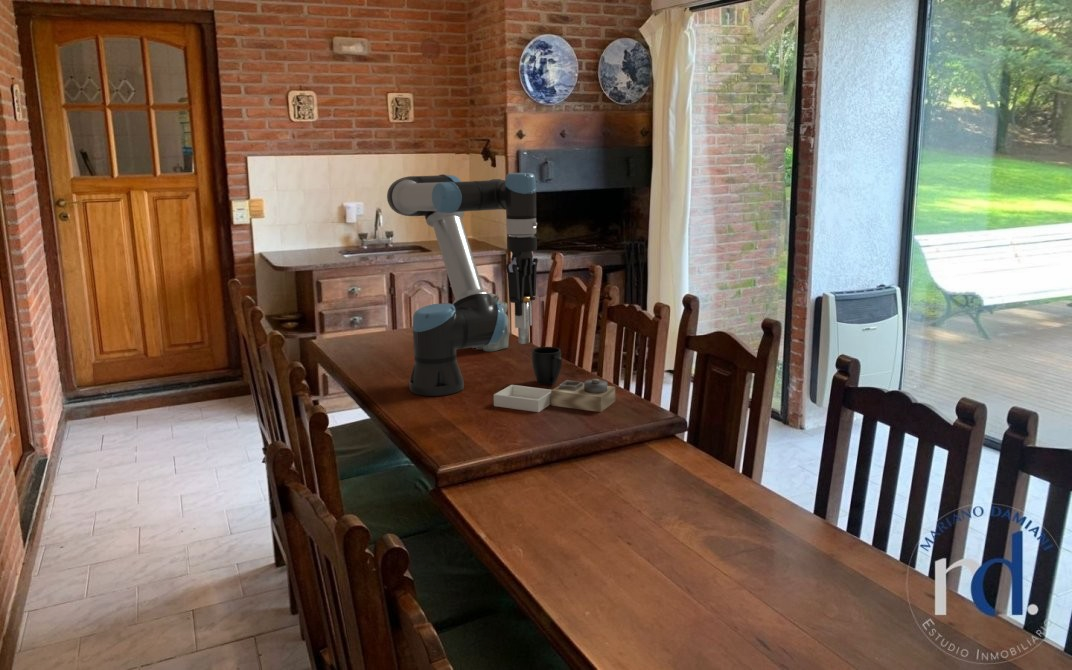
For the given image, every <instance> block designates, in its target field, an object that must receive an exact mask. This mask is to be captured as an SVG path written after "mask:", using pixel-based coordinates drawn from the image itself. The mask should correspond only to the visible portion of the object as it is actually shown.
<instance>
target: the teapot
mask: <svg viewBox="0 0 1072 670" xmlns="http://www.w3.org/2000/svg"><path fill="white" fill-rule="evenodd" d="M489 294H490V295H491V298H492V301H493V303H494V302H497V303H499V304H501V306H502V307H503V309H504V312H505V318H506V326H505V331H504V334H503V337H502V338H501V340H500V341H499V342H497V343H493V344H489V345H487V346H484V345H483V346H477V347H471V348H472V349H473V348H476V349H475V350H482V349H483V350H482V351H483V352H496V351H499V350H505V349H507V348H509V339H510V338H509V337H510V331H509V327H510V319H509V316H508V315H507V311H508V308H509V306H508V303H507V302H505V301H500V296H499V295H497V294H495V293H491V292H490V293H489Z"/></svg>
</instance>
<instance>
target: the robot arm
mask: <svg viewBox="0 0 1072 670" xmlns="http://www.w3.org/2000/svg"><path fill="white" fill-rule="evenodd" d="M536 185H537V183H536V176H535V174H534V173H533V172H510V173H507V174H506V176H505V179H502V178H497V179H496V178H495V179H494V178H492V179H489V180H488V179H487V180H473V181H467V180H466V181H462V180H461V179H460V178H459V177H457V176H456V175H451V174H438V175H415V176H414V175H411V176H403V177H401V178H399V179H396V180H394V181H393V182H392V184H391V185H389V188H388V189H387V193H386V201H387V204H388V205H389V208H391V210H392V211H394V212H395V213H396V214H398V215H401V216H405V217H424V218H425V221H426V224H427V225H428V226H429V227H431V228H433V230H434V234H435V237H436V241H437V244H438V247H439V251H440V254H441V257H442V260H443V263H444V267H445V270H446V273H447V277H448V280H449V284H450V287H451V290H452V294H453V297H454V301H453V302H452V303H448V302H445V303H444V302H442V303H434V304H428V305H425V306H422V307H420V308H418V309H417V310H416V311H414V313H413V315H412V327H411V328H412V334H413V335H412V336H413V337H412V338H413V355H414V364H413V367H412V371H411V375H410V377H409V378H410V379H409V382H408V383H409V391H410V392H411V393H413V394H414V395H418V396H419V395H420V396H426V397H428V396H429V397H431V396H432V397H435V396H436V397H437V396H438V397H439V396H447V395H453V394H456V393H459V392H461V391H463V390H464V388H465V386H464V385H465V383H464V378H463V375H462V372H461V369H460V367H459V364H458V361H457V350H462V349H468V348H469V349H470V348H472V347H477V346H483V345H484V346H487V345H489V344H493V343H497V342H499V341H500V340H501V338H502V337H503V334H504V331H505V326H506V318H505V312H504V309H503V307H502V306H501V304H499V303H497V302H494V303H493V301H492V298H491V295H490V293H489V292H486V291H484V287H483V284H482V282H481V278H480V275H479V274H480V273H479V271H478V268H477V265H476V261H475V258H474V255H473V252H472V249H471V245H470V242H469V240H468V236H467V233H466V230H465V226H464V223H463V220H462V219H463V218H464V217H465V212H479V211H495V210H496V211H497V210H503V211H506V212H505V215H506V217H505V218H506V234H507V237H506V249H507V251H508V252H511V253H512V255H511V262H510V263H507V264H506V265H505V269H506V272H507V281H508V282H507V284H508V295H509V296H508V298H509V302H510V303H513V304H514V328H515V329H518V328H526V312H525V303H523V301H524V296H530V301H529V327H530V326H533V314H532V313H533V312H532V311H533V309H532V301H535V300H536V296H537V268H538V267H537V266H538V262H539V259H538V258H537V257H533V256H534V255H533V252H535V251H537V249H538V243H537V242H538V241H537V240H538V239H537V236H536V234H537V226H538V222H537V187H536Z"/></svg>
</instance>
